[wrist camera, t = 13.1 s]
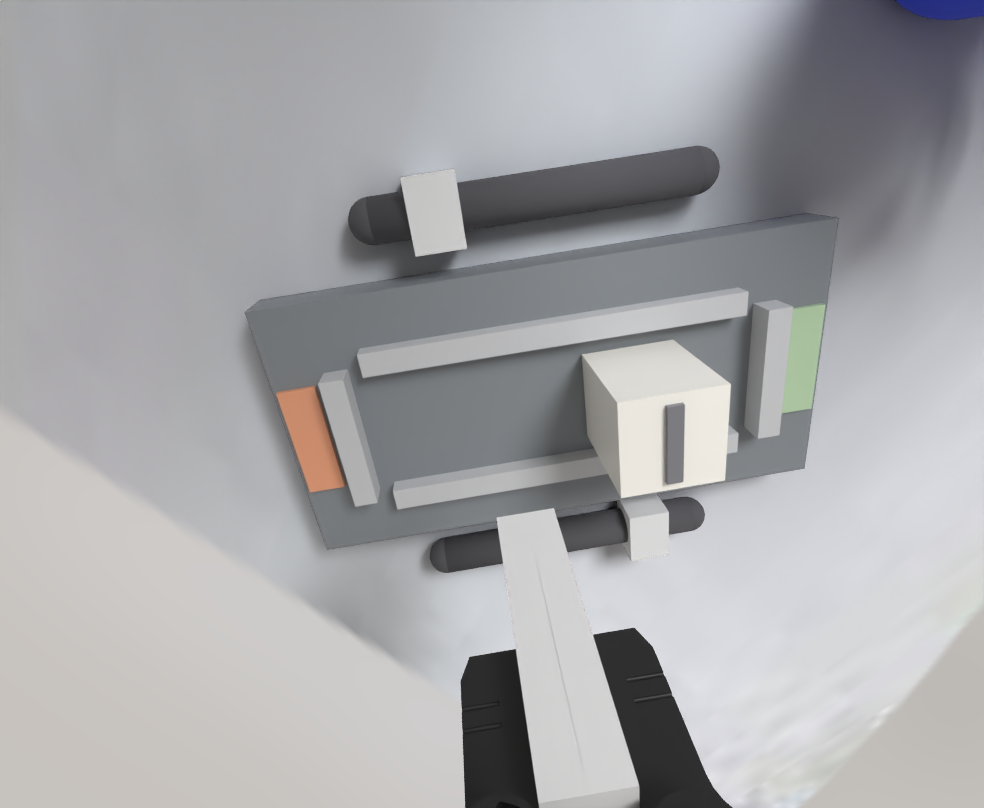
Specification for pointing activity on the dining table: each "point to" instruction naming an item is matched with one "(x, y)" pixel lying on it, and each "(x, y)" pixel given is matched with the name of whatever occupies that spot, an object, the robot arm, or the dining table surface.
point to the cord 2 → (587, 533)
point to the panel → (535, 371)
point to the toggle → (656, 417)
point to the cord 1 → (524, 197)
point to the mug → (945, 8)
